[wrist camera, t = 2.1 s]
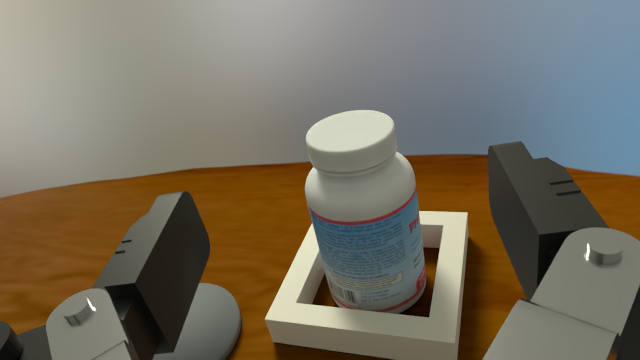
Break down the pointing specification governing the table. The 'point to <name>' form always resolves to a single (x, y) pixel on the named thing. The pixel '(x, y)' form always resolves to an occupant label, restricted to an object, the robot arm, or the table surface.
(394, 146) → the pill bottle
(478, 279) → the table surface
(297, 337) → the holder
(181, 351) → the coaster
